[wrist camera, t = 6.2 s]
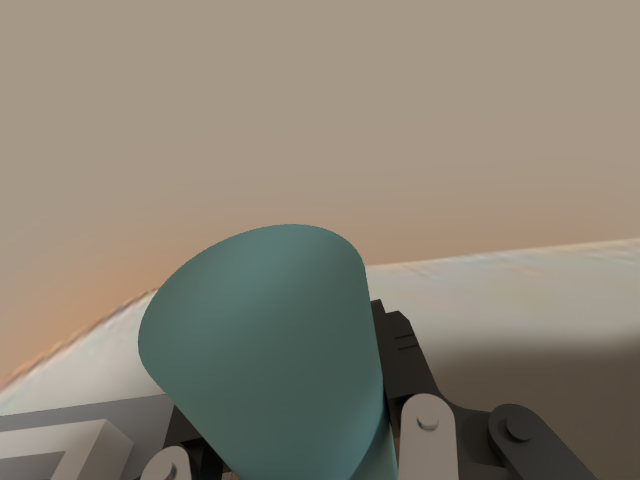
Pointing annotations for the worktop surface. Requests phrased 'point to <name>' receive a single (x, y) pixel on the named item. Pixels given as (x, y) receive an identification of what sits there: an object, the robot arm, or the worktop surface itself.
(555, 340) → the worktop surface
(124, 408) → the socket base
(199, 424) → the peg
